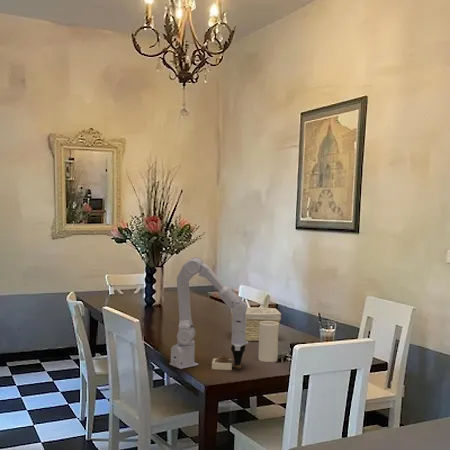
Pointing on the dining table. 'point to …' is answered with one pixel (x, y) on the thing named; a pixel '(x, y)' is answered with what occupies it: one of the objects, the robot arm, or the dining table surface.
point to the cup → (268, 341)
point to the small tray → (222, 364)
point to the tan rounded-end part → (226, 360)
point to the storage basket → (258, 320)
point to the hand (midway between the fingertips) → (237, 363)
